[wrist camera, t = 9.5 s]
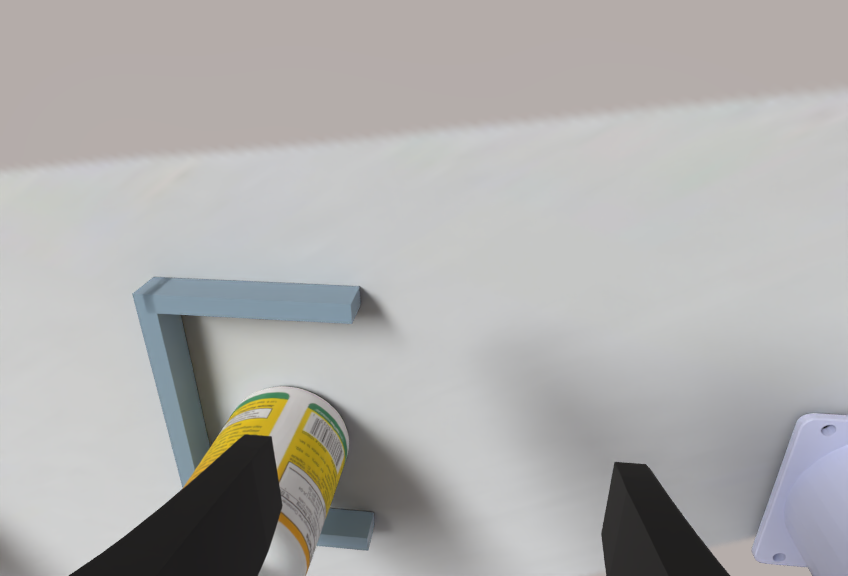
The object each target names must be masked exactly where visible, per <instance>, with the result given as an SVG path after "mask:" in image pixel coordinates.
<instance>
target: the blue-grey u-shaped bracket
mask: <svg viewBox="0 0 848 576" xmlns="http://www.w3.org/2000/svg"><path fill="white" fill-rule="evenodd" d="M133 298H134V302H135V306H136V310H137V314H138V318H139V321H140V325H141V329H142V333H143V337H144V341H145V345H146V348H147V352H148V356H149V360H150V364H151V368H152V372H153V375H154V379H155V383H156V387H157V391H158V395H159V399H160V402H161V406H162V410H163V414H164V418H165V422H166V426H167V429H168V433H169V437H170V441H171V445H172V449H173V453H174V456H175V460H176V464H177V468H178V472H179V476H180V480H181V483H182V487H184V486H185V484H186V483H187V481H188V480H189V478H190V477H191V475H192V474H193V472H194V471H195V469H196V468H197V466H198V465H199V463H200V462H201V461H202V459H203V457H204V456H205V454H206V453H207V452H208V450H209V448H210V445H209V440H208V436H207V431H206V427H205V422H204V418H203V413H202V409H201V404H200V400H199V395H198V391H197V386H196V382H195V377H194V372H193V368H192V363H191V359H190V354H189V350H188V345H187V341H186V336H185V332H184V327H183V323H182V318H181V315H194V316H213V317H232V318H251V319H270V320H289V321H308V322H327V323H346V324H352V323H353V321H354V318H355V316H356V314H357V312H358V310H359V307H360V305H361V302H360V286H339V285H317V284H295V283H273V282H251V281H229V280H208V279H186V278H164V277H153V278H152V279H151V280H149V281H148V282H147V283H145V284H144V285H143V286H142V287H140V288H139V289H138V290H137V291H135V292H134V293H133ZM373 528H374V512H365V511H353V510H342V509H331V508H329V511H328V513H327V516H326V519H325V522H324V525H323V528H322V531H321V534H320V536H319V539H318V542H317V545H316V546H326V547H336V548H347V549H357V550H368V549H369V545H370V541H371V537H372V533H373Z"/></svg>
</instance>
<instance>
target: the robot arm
mask: <svg viewBox="0 0 848 576" xmlns="http://www.w3.org/2000/svg"><path fill="white" fill-rule="evenodd" d="M826 425H829V427H827V428H825V429H822V428H823V427H824V426H826ZM282 506H283V505H282V498H281V492H280V486H279V479H278V473H277V467H276V460H275V454H274V448H273V442H272V436H262V435H249V434H244V435H243V436H242V437H241V438H240V439H239V440H237V441H236V442H235V443H234V444H233V445H232V446H231V447H229V448H228V449H227V450H226V451H225V452H224V453H223V454H221V455H220V456H219V457H218V458H217V459H216V460H215V461H214V462H213V463H211V464H210V465H209V466H208V467H207V468H206V469H205V470H204V471H202V472H201V473H200V474H199V475H198V476H197V477H196V478H195V479H193V480H192V481H191V482H190V483H189V484H188V485H187V486H185V487H184V488H183V489H182V490H181V491H180V492H178V493H177V494H176V495H175V496H174V497H173V498H171V499H170V500H169V501H168V502H167V503H166V504H164V505H163V506H162V507H161V508H160V509H158V510H157V511H156V512H155V513H153V514H152V515H151V516H149V517H148V518H147V519H146V520H144V521H143V522H142V523H141V524H139V525H138V526H137V527H136V528H134V529H133V530H132V531H131V532H129V533H128V534H127V535H126V536H124V537H123V538H122V539H120V540H119V541H118V542H116V543H115V544H114V545H112V546H111V547H109V548H108V549H107V550H105V551H104V552H103V553H101V554H100V555H98V556H97V557H95V558H94V559H93V560H91V561H90V562H88V563H87V564H85V565H84V566H82V567H81V568H79V569H78V570H76V571H75V572H73V573H72V574H71V575H69V576H258V574H259V572H260V570H261V568H262V565H263V563H264V561H265V558H266V556H267V554H268V551H269V548H270V545H271V542H272V539H273V536H274V533H275V530H276V526H277V523H278V520H279V516H280V513H281V510H282ZM601 534H602V543H603V552H604V560H605V568H606V576H730V575H729V574H728V573H727V571H726V570H725V569H724V568H723V566H722V565H721V564H720V563H719V562H718V560H717V559H716V558H715V557H714V556H713V554H712V553H711V551H710V550H709V549H708V548H707V546H706V545H705V544H704V542H703V541H702V540H701V539H700V537H699V536H698V535H697V534H696V532H695V531H694V530H693V528H692V527H691V526H690V524H689V523H688V522H687V520H686V519H685V518H684V516H683V515H682V513H681V512H680V511H679V509H678V508H677V507H676V505H675V504H674V502H673V501H672V500H671V498H670V497H669V495H668V494H667V493H666V491H665V490H664V488H663V487H662V485H661V484H660V483H659V481H658V480H657V478H656V477H655V475H654V474H653V472H652V471H651V469H650V468H649V467H648V466H647V465H646V464H635V463H622V462H615V463H614V468H613V473H612V479H611V484H610V490H609V495H608V501H607V506H606V512H605V517H604V522H603V528H602V533H601ZM752 553H753V556H754V558H755V559H756V560H757V561H758V562H760V563H765V564H776V565H787V566H800V567H808V569H809V570H810V572H811V574H812V576H848V415H836V414H820V413H809V414H806V415H803V416H802V417H800V418H799V419H798V421H797V422H796V425H795V427H794V430H793V433H792V436H791V439H790V442H789V444H788V447H787V450H786V453H785V456H784V459H783V461H782V464H781V467H780V470H779V473H778V476H777V478H776V481H775V484H774V487H773V490H772V493H771V495H770V498H769V501H768V504H767V507H766V510H765V512H764V515H763V518H762V521H761V524H760V527H759V529H758V532H757V535H756V538H755V541H754V544H753V547H752Z"/></svg>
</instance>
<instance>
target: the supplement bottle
mask: <svg viewBox="0 0 848 576" xmlns="http://www.w3.org/2000/svg"><path fill="white" fill-rule="evenodd" d="M244 434H249V435H262V436H272V442H273V448H274V454H275V460H276V467H277V473H278V479H279V486H280V492H281V498H282V505H283V506H282V510H281V513H280V516H279V520H278V523H277V526H276V530H275V533H274V536H273V539H272V542H271V545H270V548H269V551H268V554H267V556H266V558H265V561H264V563H263V565H262V568H261V570H260V572H259V574H258V576H306V574H307V571H308V568H309V565H310V563H311V560H312V557H313V554H314V551H315V548H316V545H317V542H318V539H319V536H320V534H321V531H322V528H323V525H324V522H325V519H326V516H327V513H328V511H329V508H330V505H331V502H332V500H333V497H334V494H335V491H336V488H337V485H338V482H339V479H340V476H341V473H342V470H343V468H344V465H345V461H346V459H347V456H348V451H349V436H348V432H347V429H346V426H345V423H344V421H343V420H342V418H341V416H340V415H339V413H338V412H337V411H336V410H335V409H334V408H333V407H332V406H331V405H330V404H329V403H328V402H326V401H325V400H324V399H322V398H321V397H319V396H317V395H315V394H313V393H311V392H309V391H306V390H303V389H300V388H295V387H287V386H280V387H272V388H266V389H263V390H260V391H257V392H255V393H253V394H251V395H249V396H248V397H246V398H245V399H244V400H243V401H242V402H241V403H240V404H239V405H238V407H237V408H236V409H235V411H234V412H233V414H232V415H231V417H230V418H229V420H228V421H227V423H226V424H225V426H224V427H223V429H222V430H221V432H220V433H219V435H218V436H217V438H216V440H215V441H214V443H213V444H212V446H211V447H210V448H209V450H208V452H207V453H206V454H205V456H204V457H203V459H202V461H201V462H200V463H199V465H198V466H197V468H196V469H195V471H194V472H193V474H192V475H191V477H190V478H189V480H188V481H187V483H186V484H185V486H187V485H188V484H189V483H190V482H191V481H192V480H193V479H195V478H196V477H197V476H198V475H199V474H200V473H201V472H202V471H204V470H205V469H206V468H207V467H208V466H209V465H210V464H211V463H213V462H214V461H215V460H216V459H217V458H218V457H219V456H220V455H221V454H223V453H224V452H225V451H226V450H227V449H228V448H229V447H231V446H232V445H233V444H234V443H235V442H236V441H237V440H239V439H240V438H241V437H242V436H243V435H244ZM185 486H184V487H185ZM184 487H183V488H184Z"/></svg>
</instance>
